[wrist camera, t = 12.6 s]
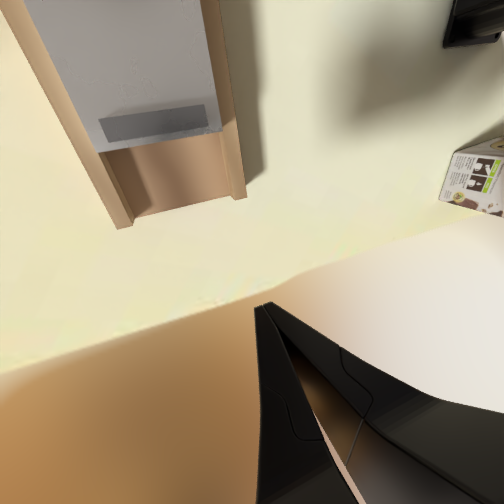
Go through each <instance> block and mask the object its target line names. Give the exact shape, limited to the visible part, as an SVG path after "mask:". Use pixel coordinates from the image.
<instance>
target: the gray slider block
mask: <svg viewBox="0 0 504 504" xmlns="http://www.w3.org/2000/svg"><path fill="white" fill-rule="evenodd" d="M23 2H24V4H25V6H26V8H27V10H28V12H29V14H30V16H31V19H32V21H33V23H34V25H35V27H36V29H37V31H38V33H39V35H40V37H41V39H42V41H43V43H44V45H45V47H46V50H47V52H48V54H49V56H50V58H51V60H52V62H53V64H54V66H55V68H56V70H57V72H58V74H59V76H60V79H61V81H62V83H63V85H64V87H65V89H66V91H67V93H68V95H69V97H70V99H71V101H72V103H73V105H74V107H75V110H76V112H77V114H78V116H79V118H80V120H81V122H82V124H83V126H84V128H85V130H86V132H87V134H88V136H89V139H90V141H91V143H92V145H93V147H94V149H95V151H96V153H99V152H105V151H111V150H117V149H123V148H128V147H134V146H140V145H146V144H152V143H158V142H163V141H169V140H175V139H181V138H187V137H192V136H198V135H204V134H210V133H216V132H222V131H223V129H222V123H221V117H220V112H219V106H218V101H217V95H216V89H215V84H214V78H213V73H212V67H211V61H210V56H209V50H208V45H207V39H206V33H205V28H204V22H203V17H202V11H201V5H200V0H23Z"/></svg>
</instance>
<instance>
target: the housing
mask: <svg viewBox="0 0 504 504" xmlns="http://www.w3.org/2000/svg"><path fill="white" fill-rule="evenodd" d="M200 5H201V11H202V17H203V22H204V28H205V33H206V39H207V45H208V50H209V56H210V61H211V67H212V73H213V78H214V84H215V89H216V95H217V101H218V106H219V112H220V117H221V123H222V129H223V131H222V132H216V133H210V134H204V135H198V136H192V137H187V138H181V139H175V140H169V141H163V142H158V143H152V144H146V145H140V146H134V147H128V148H123V149H117V150H111V151H105V152H99V153H96V151H95V149H94V147H93V145H92V143H91V141H90V139H89V136H88V134H87V132H86V130H85V128H84V126H83V124H82V122H81V120H80V118H79V116H78V114H77V112H76V110H75V107H74V105H73V103H72V101H71V99H70V97H69V95H68V93H67V91H66V89H65V87H64V85H63V83H62V81H61V79H60V76H59V74H58V72H57V70H56V68H55V66H54V64H53V62H52V60H51V58H50V56H49V54H48V52H47V50H46V47H45V45H44V43H43V41H42V39H41V37H40V35H39V33H38V31H37V29H36V27H35V25H34V23H33V21H32V19H31V16H30V14H29V12H28V10H27V8H26V6H25V4H24V2H23V0H0V9H1V11H2V13H3V15H4V17H5V19H6V20H7V22H8V24H9V26H10V28H11V30H12V32H13V34H14V36H15V37H16V39H17V41H18V43H19V45H20V47H21V49H22V51H23V53H24V54H25V56H26V58H27V60H28V62H29V64H30V66H31V68H32V70H33V71H34V73H35V75H36V77H37V79H38V81H39V83H40V85H41V87H42V88H43V90H44V92H45V94H46V96H47V98H48V100H49V102H50V104H51V105H52V107H53V109H54V111H55V113H56V115H57V117H58V119H59V121H60V122H61V124H62V126H63V128H64V130H65V132H66V134H67V136H68V138H69V139H70V141H71V143H72V145H73V147H74V149H75V151H76V153H77V155H78V156H79V158H80V160H81V162H82V164H83V166H84V168H85V170H86V172H87V173H88V175H89V177H90V179H91V181H92V183H93V185H94V187H95V189H96V190H97V192H98V194H99V196H100V198H101V200H102V202H103V204H104V206H105V207H106V209H107V211H108V213H109V215H110V217H111V219H112V221H113V223H114V224H115V226H116V228H117V230H118V229H122V228H126V227H130V226H133V223H134V220H135V218H138V217H142V216H146V215H151V214H155V213H159V212H163V211H167V210H171V209H175V208H180V207H184V206H188V205H192V204H196V203H200V202H205V201H209V200H213V199H217V198H221V197H225V196H229V195H230V196H231V197H232V198H233V199H234V200H239V199H243V198H247V192H246V185H245V178H244V171H243V164H242V157H241V151H240V144H239V137H238V130H237V123H236V116H235V109H234V102H233V96H232V89H231V82H230V75H229V68H228V61H227V54H226V47H225V41H224V34H223V27H222V20H221V13H220V6H219V0H200Z"/></svg>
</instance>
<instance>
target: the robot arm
mask: <svg viewBox="0 0 504 504" xmlns="http://www.w3.org/2000/svg"><path fill="white" fill-rule="evenodd" d="M502 31H504V0H454V2H453V6H452V10H451V14H450V18H449V21H448V25H447V29H446V33H445V37H444V41H443V47H444V48H445V49H448V48H457V47H466V46H475V45H484V44H491V43H495V42H496V41H497V40H498V39H499V37H500V35H501V33H502ZM254 318H255V333H256V348H257V363H258V376H259V394H260V437H259V455H258V475H257V476H258V477H257V492H256V504H359V503H358V501H357V500H356V498H355V496H354V494H353V493H352V491H351V489H350V488H349V486H348V484H347V482H346V481H345V479H344V477H343V475H342V474H341V472H340V471H339V469H338V467H337V465H336V463H335V461H334V459H333V457H332V455H331V453H330V451H329V448H328V446H327V444H326V442H325V441H324V437H323V435H322V432H321V430H320V427H319V425H318V423H317V420H316V418H315V416H314V413H315V415H316V417H317V419H318V420H319V422H320V424H321V426H322V427H323V429H324V431H325V433H326V434H327V436H328V438H329V440H330V441H331V443H332V445H333V446H334V448H335V450H336V451H337V453H338V455H339V457H340V459H341V460H342V462H343V464H344V466H346V469H347V471H348V472H349V474H350V476H351V478H352V479H353V481H354V483H355V485H356V486H357V488H358V490H359V492H360V493H361V495H362V497H363V499H364V500H365V502H366V504H504V413H499V412H495V411H491V410H486V409H481V408H477V407H472V406H468V405H463V404H459V403H454V402H450V401H446V400H442V399H439V398H436V397H433V396H430V395H428V394H426V393H424V392H421V391H419V390H417V389H415V388H414V387H412V386H410V385H408V384H406V383H404V382H402V381H400V380H398V379H396V378H394V377H393V376H391V375H389V374H387V373H385V372H383V371H381V370H380V369H377V368H376V367H374V366H372V365H370V364H368V363H367V362H365V361H363V360H362V359H360V358H358V357H357V356H355V355H354V354H352V353H350V352H349V351H347V350H346V349H344V348H342V347H340V346H339V345H338V344H336V343H335V342H333V341H332V340H330V339H328V338H327V337H326V336H324V335H323V334H321V333H319V332H318V331H316V330H315V329H313V328H312V327H310V326H309V325H307V324H305V323H304V322H302V321H301V320H299V319H298V318H296V317H295V316H293V315H292V314H290V313H289V312H287V311H286V310H284V309H282V308H281V307H279V306H278V305H276V304H275V303H273V302H268V303H265V304H263V305H260V306H257V307H255V308H254ZM311 408H312V409H311ZM312 410H313V411H312ZM313 412H314V413H313Z"/></svg>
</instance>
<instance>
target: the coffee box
mask: <svg viewBox="0 0 504 504" xmlns="http://www.w3.org/2000/svg"><path fill="white" fill-rule="evenodd" d="M439 200H441V201H444V202H448V203H451V204H455V205H459V206H463V207H466V208H470V209H474V210H477V211H480V212H484V213H488V214H492V215H496V216H500V217H503V218H504V136H501V137H498V138H495V139H492V140H489V141H486V142H483V143H480V144H477V145H475V146H472V147H469V148H466V149H463V150H460V151H457V152H455V153H454V154H453V157H452V160H451V163H450V167H449V169H448V172H447V176H446V179H445V181H444V185H443V188H442V190H441V193H440V196H439Z"/></svg>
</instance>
